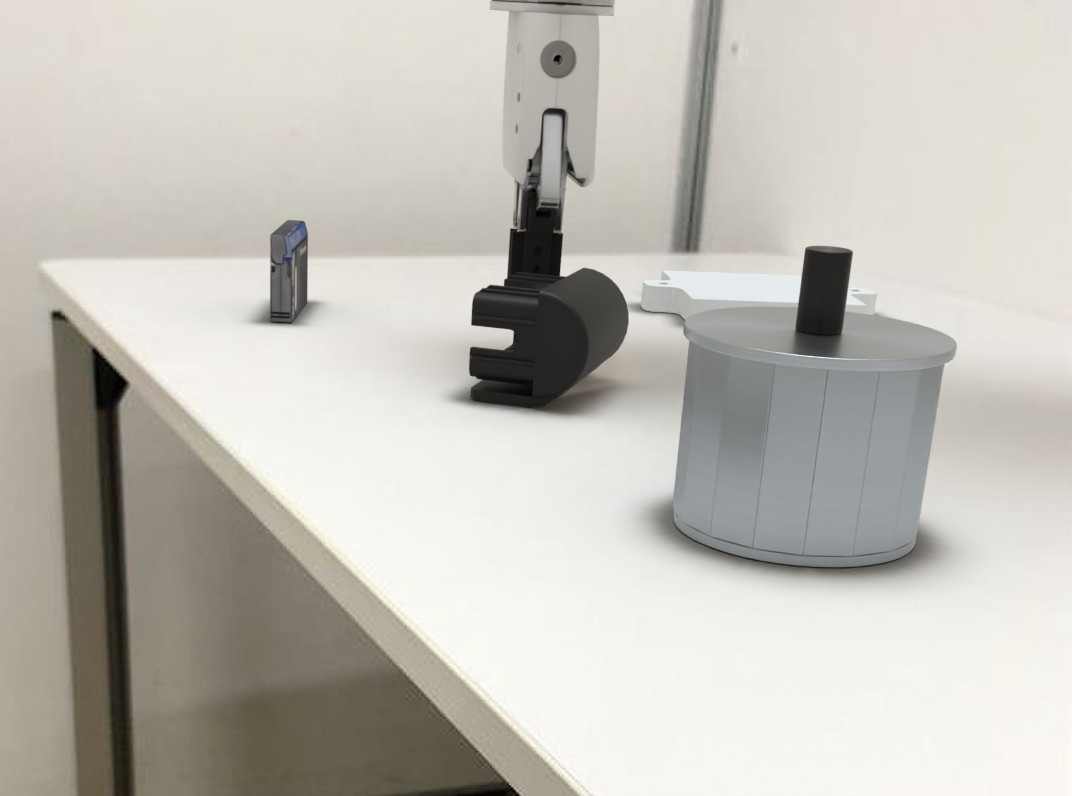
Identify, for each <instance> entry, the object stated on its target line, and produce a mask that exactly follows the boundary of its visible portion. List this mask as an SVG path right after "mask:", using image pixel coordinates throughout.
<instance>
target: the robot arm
mask: <svg viewBox="0 0 1072 796" xmlns="http://www.w3.org/2000/svg"><path fill="white" fill-rule="evenodd" d="M615 3H616V0H490V1H489V10H490V11H501V12H508V19H507V31H506V46H505V47H506V48H505V64H504V80H503V82H504V83H503V101H502V102H503V105H502V106H503V107H502V163H503V164H502V165H503V168H504V170H505V171H506V172H507V174H508V175H509V176H510V177H511V178H513V181H514V193H513V211H512V212H513V213H512V228H511V227H510V228H509V241H508V242H509V243H508V255H507V256H508V257H507V273H506V274H507V275H506V278H508V277H509V276H510V275H514V274H515V273H517V272H523V273H533V274H544V275H554V276H561V268H562V267H561V265H562V256H563V255H562V253H563V241H564V233H563V232H562V229H563V222H564V221H563V219H564V211H565V210H564V208H565V198H566V190H567V180H568V179H567V178H569V179H571V181H572V182H574V183H575V184H576V185H578V186H579V187H580V188H587V187H589V186H590V185H591V184H592V183H593V182H594V179H595V174H596V173H595V172H596V171H595V170H596V152H597V151H596V150H597V149H596V148H597V145H596V144H597V129H598V128H597V126H598V108H599V107H598V106H599V105H598V104H599V86H600V85H599V84H600V18H599V16H601V17H614V16H615Z"/></svg>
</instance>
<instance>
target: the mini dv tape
mask: <svg viewBox="0 0 1072 796" xmlns="http://www.w3.org/2000/svg"><path fill="white" fill-rule="evenodd" d="M269 237H270V241H269V243H270V245H269V246H270V247H269V250H270V251H269V252H270V253H269V254H270V256H269V257H270V258H269V260H270V261H269V266H270V268H269V322H270V323H271V322H273V323H289V324H290V323H291V324H293V322H294V320H295V319H296V318H297V317H298V315H299V314H300V313H301V312H302V310H303V309H304V308H305V306H306V305H307V304H308V280H309V279H308V274H309V273H308V271H309V270H308V267H309V266H308V265H309V264H308V263H309V262H308V261H309V260H308V259H309V245H308V244H309V232H308V229H307V224H306V222H305V221H304V220H301V219H299V220H296V219H287V220H285V222H283V223H282V224H281V225H280V226H279V227H277V228H276V229H275V230H274V231H272V233H271V234H270V235H269Z"/></svg>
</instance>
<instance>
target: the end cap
mask: <svg viewBox="0 0 1072 796" xmlns="http://www.w3.org/2000/svg"><path fill="white" fill-rule="evenodd" d="M629 315H630V314H629V309H628V304H627V301H626V299H625V296H624V293H623V292H622V291H621V289H620V287H619V286H618V284H616V282H614V281H613V280H612V279H611V278H610V277H609V276H607V275H606V274H604V273H602V272H601V271H598V270H596V269H594V268H589V267H582V268H580V269H577V271H574V272H572V273H571V274H569V275H567V276H563V275H560V276H554V275H544V274H533V273H523V272H517V273H515V274H514V275H510V276H509V277H508V278H507V277H506V278H504V279H503V285H498V284H489V285H487V286H486V287H482V288H481V289H480V290H478V291H476V292H475V293H474V295H473V298H472V304H471V320H470V326H473V327H482V328H491V329H500V330H510V331H512V332H513V336H512V337H513V338H512V344H511V345H509V346H508V347H506V348H504V349H498V348H490V347H489V348H488V347H480V346H471V347H469V361H468V373H469V376H470V377H475V379H477V380H480V381H478V382H477V383H475V384H474V385H472V386H471V387H470V394H469V395H470V399H472V400H474V401H478V402H483V403H484V402H485V403H491V404H499V405H507V406H508V405H509V406H515V407H516V406H517V407H524V408H535V407H536V408H537V407H544V406H546V405H548V404H550V403H552V402H553V401H554V400H556V399H558V398H559V397H561V396H562V395H563V394H565V393H566V392H568V391H569V390H570V389H571V388H573V387H575V385H577V384H578V383H580V382H581V381H582V380H583V379H585V378H586V377H587V376H589V375H590V374H592V373H593V372H594V371H595V370H597V369H598V368H599V367H600V366H601V365H602V364H604V363H605V362H606V361H607V360H609V359H611V358H612V356H614V354H615V353H617V351H619V349H620V348H621V346H622V344H623V343H624V341H625V338H626V336H627V333H628V329H629V322H630V321H629V319H630V317H629Z"/></svg>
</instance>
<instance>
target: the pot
mask: <svg viewBox="0 0 1072 796" xmlns="http://www.w3.org/2000/svg"><path fill="white" fill-rule="evenodd" d="M686 359H687V360H686V368H685V369H686V370H685V378H684V390H683V400H682V409H681V418H680V420H681V421H680V428H679V438H678V449H677V458H676V468H675V477H674V488H673V499H672V509H673V522H674V524H675V526H676V527H677V528H678V530H679V531H681V532H682V533H683V534H684V535H685V536H687V537H689V538H690V539H692V540H693V541H696V542H698V543H700V544H702V545H703V546H707V547H709V548H712V549H715V550H717V551H720V552H724V553H726V554H730V555H734V556H738V557H742V558H746V559H751V560H757V561H760V562H766V563H767V562H768V563H773V564H779V565H787V566H797V567H807V568H809V567H810V568H811V567H812V568H854V567H855V568H856V567H864V566H873V565H878V564H884V563H888V562H892V561H895V560H897V559H901V558H903V557H905V556H906V555H908V554H909V553H910V552H911V551H912V550H913V549H914V547H915V546H916V541H917V535H918V530H919V524H920V518H921V513H922V506H923V501H924V494H925V487H926V483H927V475H928V469H929V462H930V457H931V452H932V451H931V450H932V444H933V440H934V439H933V437H934V432H935V426H936V419H937V413H938V407H939V400H940V394H941V389H942V381H943V376H944V370H945V364H943V365H939V366H935V367H931V368H924V369H917V370H907V371H880V372H868V371H838V370H823V369H812V368H801V367H793V366H785V365H777V364H771V363H764V362H759V361H753V360H748V359H743V358H738V357H734V356H730V355H726V354H722V353H718V352H715V351H712V350H709V349H706V348H704V347H701V346H699V345H697V344H695V343H693V342H691V341H689V340H688V349H687V357H686Z"/></svg>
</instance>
